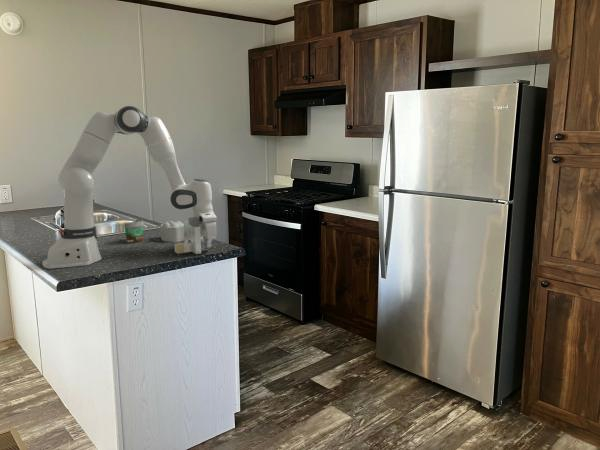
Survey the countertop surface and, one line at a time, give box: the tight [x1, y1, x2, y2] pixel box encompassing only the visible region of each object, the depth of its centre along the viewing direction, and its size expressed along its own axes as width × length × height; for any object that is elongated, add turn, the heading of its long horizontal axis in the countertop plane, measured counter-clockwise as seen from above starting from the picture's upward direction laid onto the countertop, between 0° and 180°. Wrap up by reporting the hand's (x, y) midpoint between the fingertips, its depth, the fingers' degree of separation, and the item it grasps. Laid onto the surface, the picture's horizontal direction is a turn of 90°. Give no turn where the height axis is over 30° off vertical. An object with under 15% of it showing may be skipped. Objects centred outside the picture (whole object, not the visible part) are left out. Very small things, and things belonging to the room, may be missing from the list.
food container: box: [123, 218, 145, 244], centre depth 246 cm, size 12×6×10 cm, turn 168°
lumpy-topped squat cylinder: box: [160, 220, 185, 243], centre depth 251 cm, size 10×13×9 cm
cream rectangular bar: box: [174, 241, 206, 254], centre depth 227 cm, size 12×4×4 cm, turn 121°
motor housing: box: [183, 216, 202, 255], centre depth 227 cm, size 2×15×15 cm, turn 31°
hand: (205, 245), depth 231 cm, fingers open, 8 cm apart
